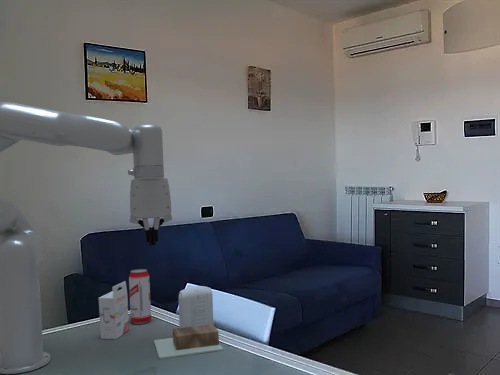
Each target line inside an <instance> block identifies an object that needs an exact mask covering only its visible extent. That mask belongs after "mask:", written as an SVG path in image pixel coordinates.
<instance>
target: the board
mask: <svg viewBox="0 0 500 375" xmlns="http://www.w3.org/2000/svg"><path fill="white" fill-rule="evenodd" d="M153 343H154V346H155V350H156V353H157V356H158V359H159V360H162V359H163V360H164V359H168V358H170V359H171V358H176V357H183V356H191V355H192V356H193V355H199V354H205V353H206V354H207V353H213V352H220V351H224V347H222V345H221V344H220V343H219V345H214V346H206V347H198V348H191V349H183V350H176V348H175V345H174V343H173V337H169V338H168V337H167V338H160V339H153Z"/></svg>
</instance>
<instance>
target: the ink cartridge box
mask: <svg viewBox="0 0 500 375" xmlns="http://www.w3.org/2000/svg"><path fill="white" fill-rule="evenodd" d="M119 288H121V289H119ZM111 289H112V291H110V292H108V293H106V294H103V295H102V296H100V297H98V310H99V312H98V314H99V325H100V326H99V327H100V328H99V330H100V331H99V332H100V340H116V339H118V338H121V336H123V335H124V334H126V332H128V331H130V324H129V320H130V319H129V301H128V288H127V282H126V280H124V281H122V282H120V283H117V284H116V285H113V286H112V288H111Z"/></svg>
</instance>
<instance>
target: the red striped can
mask: <svg viewBox="0 0 500 375" xmlns="http://www.w3.org/2000/svg"><path fill="white" fill-rule="evenodd" d="M150 283H151V282H150V274H149V272H148V269H145V268H138V269H131V270H130V274H129V276H128V286H129V287H128V289H129V311H130V321H131V323H133V324H134V325H146V324H148V323H149V322H150V321H151V320H152V308H151V307H152V305H151V289H150V288H151V286H150V285H151V284H150Z"/></svg>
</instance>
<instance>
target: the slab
mask: <svg viewBox="0 0 500 375" xmlns="http://www.w3.org/2000/svg"><path fill="white" fill-rule="evenodd" d="M219 333H220V332H219V330H218V329H217V327H216V326H215V324H214V323H213V324H209V325H201V326H193V327H184V328H179V327H178V328H177V327H176V328H172V338H173V343H174V345H175V348H176V350H183V349H191V348H198V347H206V346H214V345H219V344H220V338H219V337H220V336H219Z"/></svg>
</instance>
